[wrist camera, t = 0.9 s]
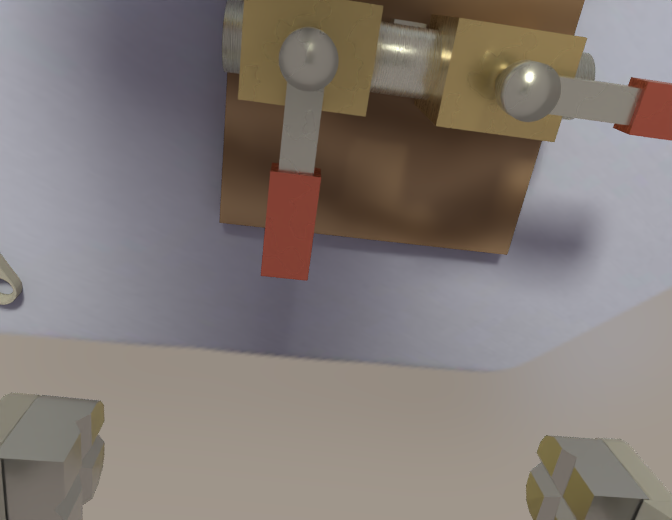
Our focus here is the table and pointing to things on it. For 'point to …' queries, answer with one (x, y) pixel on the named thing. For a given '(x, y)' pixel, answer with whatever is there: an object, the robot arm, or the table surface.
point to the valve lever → (297, 154)
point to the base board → (397, 153)
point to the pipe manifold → (442, 69)
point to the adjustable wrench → (5, 272)
